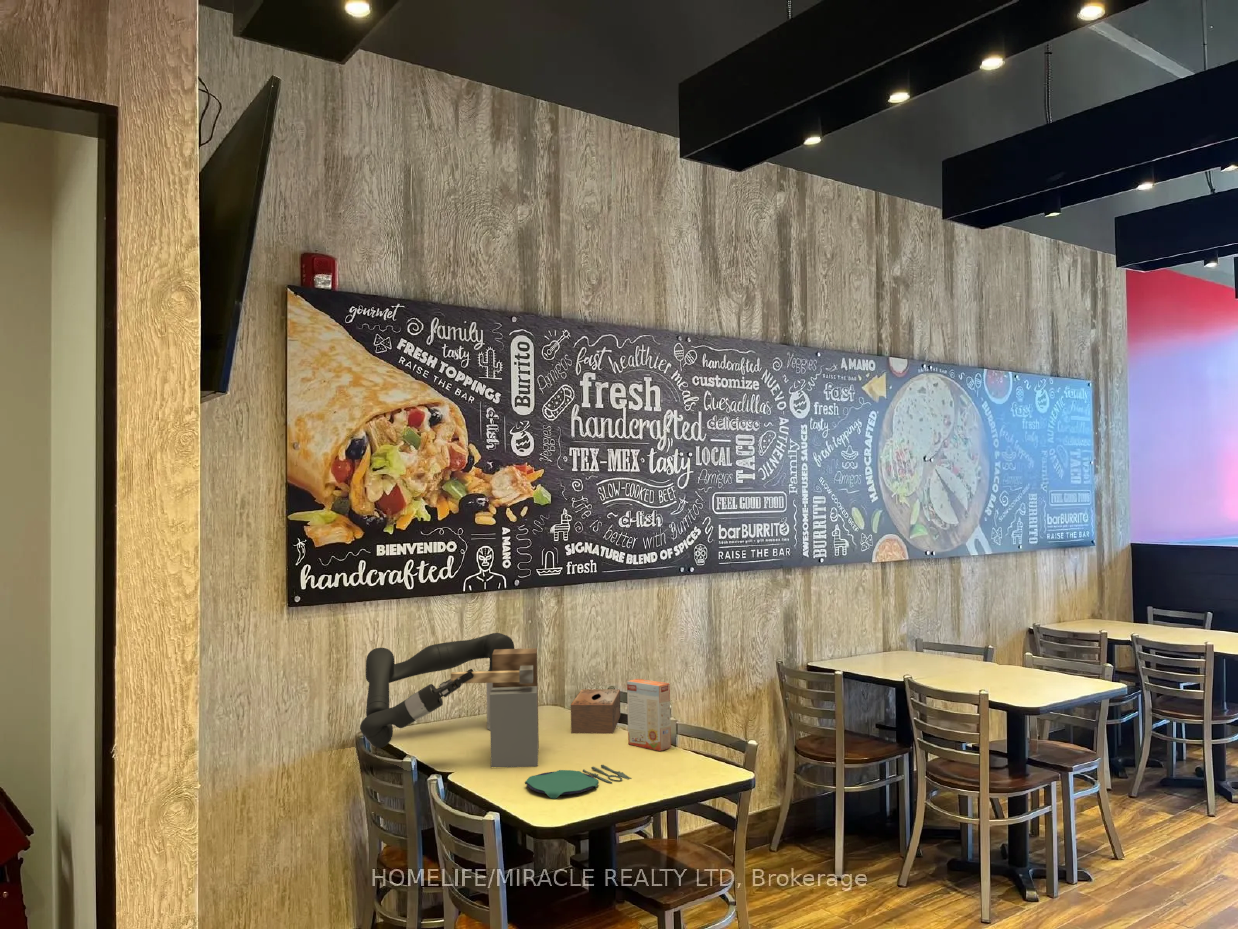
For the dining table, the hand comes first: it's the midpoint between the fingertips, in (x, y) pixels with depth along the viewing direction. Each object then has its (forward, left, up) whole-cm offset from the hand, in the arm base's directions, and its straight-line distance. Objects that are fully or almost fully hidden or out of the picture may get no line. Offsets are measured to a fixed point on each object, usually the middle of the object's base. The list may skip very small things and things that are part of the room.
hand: (472, 672), depth 277 cm
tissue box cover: (-58, -12, -28) cm, 66 cm away
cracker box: (-52, +23, -28) cm, 63 cm away
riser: (-17, -2, -28) cm, 33 cm away
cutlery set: (-12, +37, -29) cm, 48 cm away
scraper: (-4, +3, -3) cm, 6 cm away
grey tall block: (-10, +7, -28) cm, 31 cm away
